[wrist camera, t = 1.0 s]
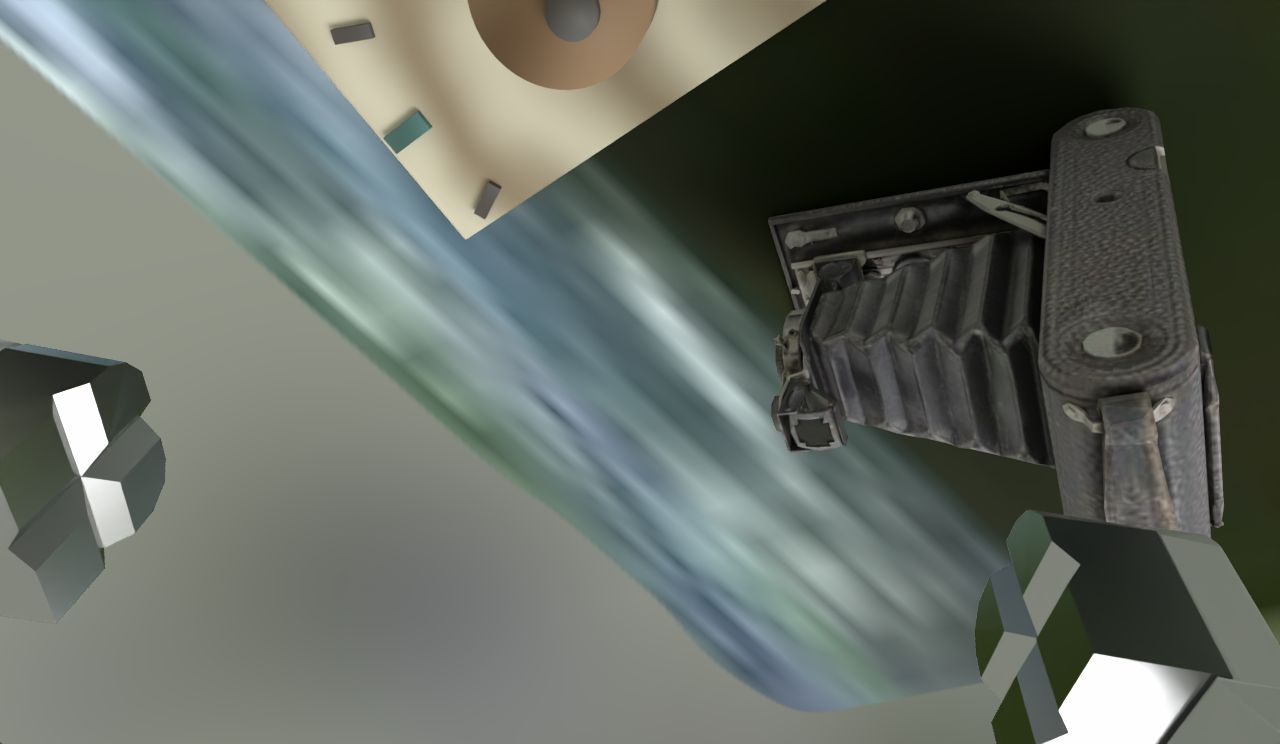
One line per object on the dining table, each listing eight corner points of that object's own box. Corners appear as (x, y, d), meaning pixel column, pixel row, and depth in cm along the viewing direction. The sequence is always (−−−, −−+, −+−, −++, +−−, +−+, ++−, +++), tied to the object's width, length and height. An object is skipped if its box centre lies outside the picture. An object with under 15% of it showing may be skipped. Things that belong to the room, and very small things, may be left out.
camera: (783, 156, 43) (626, 413, 29) (1185, 88, 35) (1242, 401, 21) (830, 338, 49) (718, 629, 35) (1187, 317, 40) (1234, 688, 26)
